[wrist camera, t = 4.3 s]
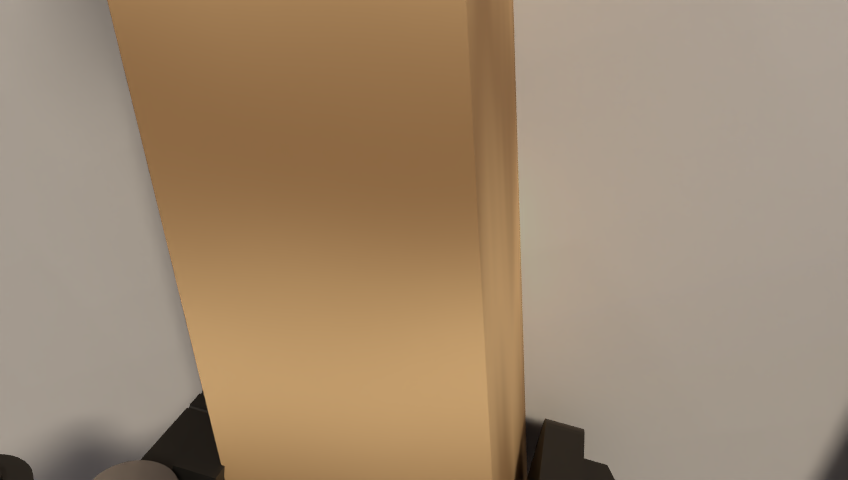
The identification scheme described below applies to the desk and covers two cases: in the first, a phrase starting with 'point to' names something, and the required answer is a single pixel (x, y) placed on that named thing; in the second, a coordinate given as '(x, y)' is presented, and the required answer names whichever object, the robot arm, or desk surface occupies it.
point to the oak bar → (341, 228)
